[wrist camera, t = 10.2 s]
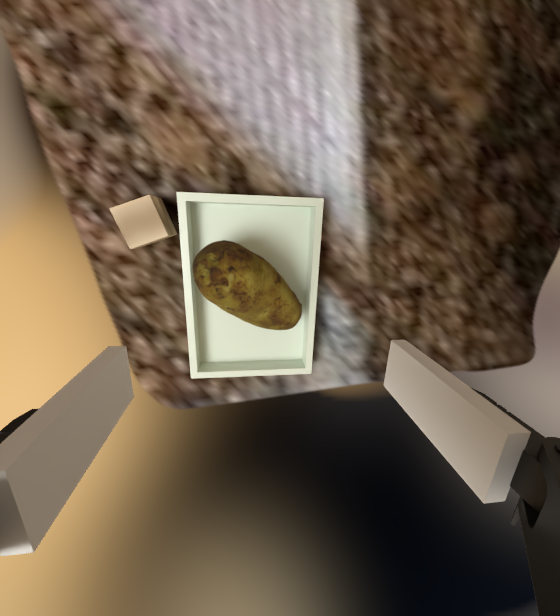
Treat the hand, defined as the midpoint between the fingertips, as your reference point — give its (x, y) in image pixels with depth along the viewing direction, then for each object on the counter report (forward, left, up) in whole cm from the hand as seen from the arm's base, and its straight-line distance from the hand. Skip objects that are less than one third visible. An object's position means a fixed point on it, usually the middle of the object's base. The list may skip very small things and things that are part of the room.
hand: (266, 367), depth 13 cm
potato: (0, -1, -20) cm, 20 cm away
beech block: (-7, -11, -21) cm, 25 cm away
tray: (+1, 0, -21) cm, 21 cm away
